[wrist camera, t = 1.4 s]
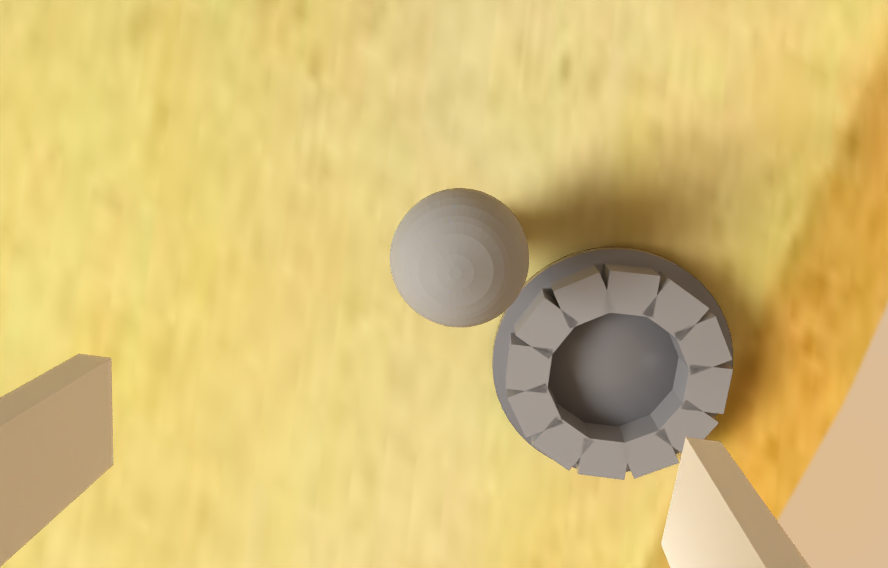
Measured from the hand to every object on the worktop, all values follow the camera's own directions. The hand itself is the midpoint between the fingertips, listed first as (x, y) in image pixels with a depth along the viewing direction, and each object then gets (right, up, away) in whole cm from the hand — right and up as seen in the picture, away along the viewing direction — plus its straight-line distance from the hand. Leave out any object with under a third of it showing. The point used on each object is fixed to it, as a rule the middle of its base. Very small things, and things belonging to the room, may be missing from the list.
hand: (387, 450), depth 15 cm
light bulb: (+2, +6, +18) cm, 19 cm away
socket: (+10, 0, +19) cm, 21 cm away
